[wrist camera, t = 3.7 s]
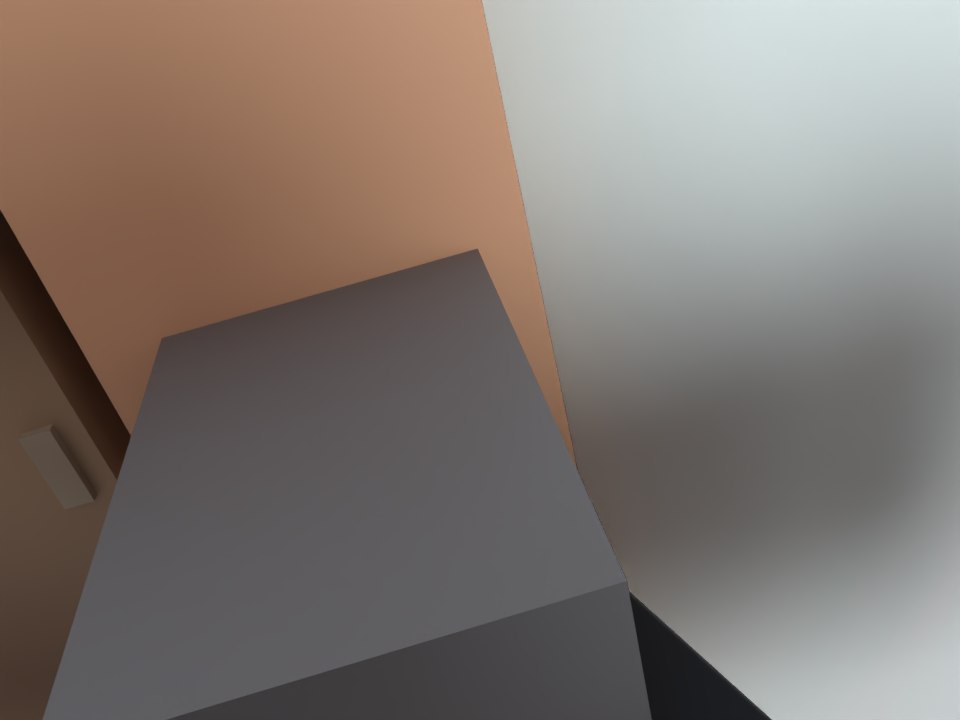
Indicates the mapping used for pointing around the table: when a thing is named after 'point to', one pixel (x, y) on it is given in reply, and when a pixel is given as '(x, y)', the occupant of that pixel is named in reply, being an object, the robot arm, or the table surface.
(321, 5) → the stub
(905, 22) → the table surface
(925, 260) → the table surface
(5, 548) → the brown flat board
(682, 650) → the robot arm
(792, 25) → the table surface
